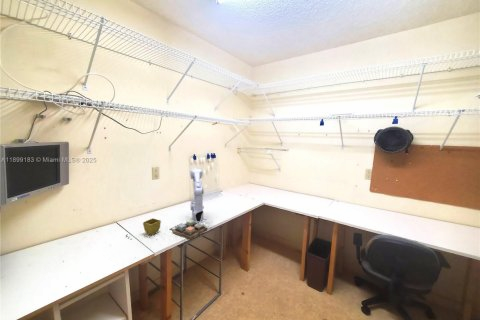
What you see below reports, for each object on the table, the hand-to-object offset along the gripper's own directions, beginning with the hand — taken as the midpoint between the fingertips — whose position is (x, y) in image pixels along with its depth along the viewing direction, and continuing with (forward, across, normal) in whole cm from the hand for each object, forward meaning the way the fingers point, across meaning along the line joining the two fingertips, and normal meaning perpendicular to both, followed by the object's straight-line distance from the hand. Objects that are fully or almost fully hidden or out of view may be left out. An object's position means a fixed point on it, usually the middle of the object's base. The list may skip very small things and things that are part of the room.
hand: (198, 220), depth 149 cm
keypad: (+8, +3, -5) cm, 10 cm away
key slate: (+4, +6, -10) cm, 13 cm away
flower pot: (+8, +13, -30) cm, 34 cm away
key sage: (+4, -2, -8) cm, 9 cm away
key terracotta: (+4, +9, -2) cm, 10 cm away
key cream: (+5, 0, 0) cm, 6 cm away
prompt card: (+8, 0, -18) cm, 20 cm away
